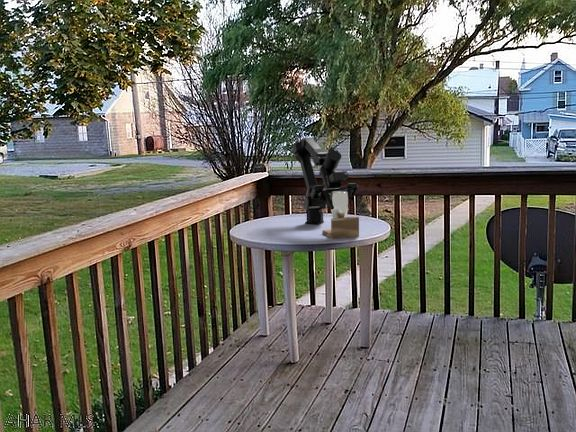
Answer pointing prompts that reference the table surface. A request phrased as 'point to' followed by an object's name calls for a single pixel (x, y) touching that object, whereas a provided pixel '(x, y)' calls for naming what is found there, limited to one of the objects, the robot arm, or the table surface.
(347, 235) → the cleat board
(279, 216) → the table surface
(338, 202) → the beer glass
